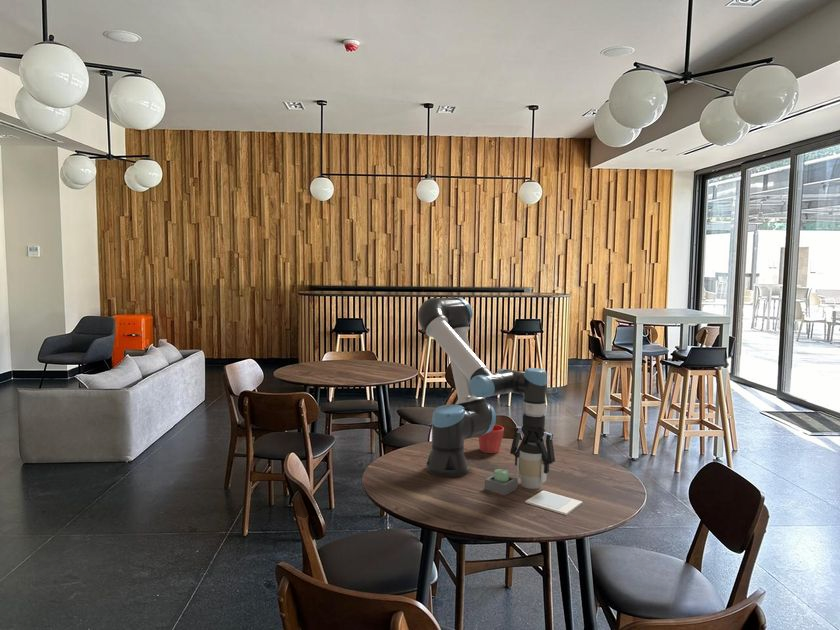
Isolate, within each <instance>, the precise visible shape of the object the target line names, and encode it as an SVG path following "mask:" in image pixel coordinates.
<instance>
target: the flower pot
mask: <svg viewBox="0 0 840 630" xmlns="http://www.w3.org/2000/svg"><path fill="white" fill-rule="evenodd" d="M504 432H505V428H504V427H503V426H502V425H499V424H495V425H494V427H493V429H492V430H491V431H490V432H489V433H487V434H484V435H482V436H477V437H478V439H477V440H478V445H479V450H480V452H483V453H486V454H496V453H499V452H500V449H501V445H502V441H503V437H504Z"/></svg>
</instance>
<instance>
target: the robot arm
mask: <svg viewBox="0 0 840 630" xmlns="http://www.w3.org/2000/svg"><path fill="white" fill-rule="evenodd" d="M473 314H474V313H473V310H472V306H471V304H470V303H469V302H468V301H467V300H466V299H464V298H462V297H455V296H451V297H431V298H428V299H426V300H425V301H424V302H422V303H421V305H420V307H419V309H418V312H417V320H418V323H419V326H420V327H421V329H422V331H423V332H424V333H425V334H426V336H428V337H429V338H433V339H434V341H435V342H436V343H437V345H439V347H440V348H441V349H442V350H443V351H444V352H445V353H446V355H447V356H448V357H449V361H450V367H451V371H452V375H453V380H454V381H453V382H454V385H455V390H456V393H457V395H456V396H457V400H456V402H455V404H444V405H441V406H438V407H436V408H434V410H433V412H432V419H431V450H430V453H429V456H428V458H427V461H426V466H425V468H426V469H425V470H426V472H427V473H428V474H430V475H431V476H435V477H438V478H439V477H440V478H459V477H462V476H465V475H466V474H467V473H468V472H469V471H468V468H469V466H468V463H467V458H466V455H465V452H464V445H465V442H464V441H465V440H467V439H471V438H472V439H473V438H476V437H478V436H482V435H484V434H487V433H489V432H490V431H491V430H492V429H493V427H494V425H496V420H497V419H496V418H497V415H496V411H495V409H494V407H493V406H492V405H491V404H490V403H487V399H486V398H490V397H494V396H498V395H504V394H510V393H513V394H519V395H522V396H523V406H522V413H523V414H522V426H519V425H517V426H515V427H514V428H513V432H514V433H513V438H512V443H511V446H510V452H509V453H510V455H513V456H514V466H516V477H521V473H520V450H519V448H520V445H522V443H524V444H525V443H527V442H528V441H533V442H536V445H537V446H539V447H540V450H542V456H541V457H542V460H543V462H544V463H542V464H541V483H542V484H543V483H545V482H547V475H548V473H549V472H550V465H551V464H553V463H555V462H556V457H555V451H554V443H553V438H554V434H553V433H552V432H550V433H549V432H547V431H546V430H545V426H546V404H547V403H546V400H547V399H546V398H547V387H548V378H547V371H546V370H545V369H543V368H536V367H529V368H528V367H527V368H526V369H525V370H524V372H522V371H516V370H513V369H510V368H508V369H506V368H501V369H499V370H498V371H497V372H492V371H491V370H490V369H489V368H488V367H487V366H486V365H485V364H484V362H483V361H481V359H480V358H479V357H478V356H477V355H476V354H475V352H474V351H473V350H472V349H471V347H470V342H469V337H468V332H469V330H470V324H471V323H472V318H473ZM521 434H523V437H522V439H521ZM543 437H544V438H543ZM520 439H521V442H520ZM544 439H545V441H544ZM544 442H545V444H544ZM545 445H546V446H545Z"/></svg>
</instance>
